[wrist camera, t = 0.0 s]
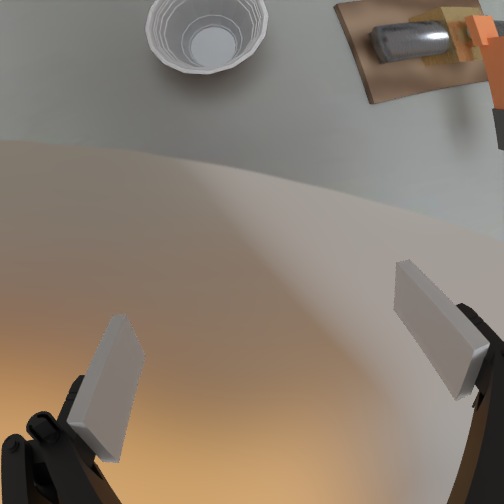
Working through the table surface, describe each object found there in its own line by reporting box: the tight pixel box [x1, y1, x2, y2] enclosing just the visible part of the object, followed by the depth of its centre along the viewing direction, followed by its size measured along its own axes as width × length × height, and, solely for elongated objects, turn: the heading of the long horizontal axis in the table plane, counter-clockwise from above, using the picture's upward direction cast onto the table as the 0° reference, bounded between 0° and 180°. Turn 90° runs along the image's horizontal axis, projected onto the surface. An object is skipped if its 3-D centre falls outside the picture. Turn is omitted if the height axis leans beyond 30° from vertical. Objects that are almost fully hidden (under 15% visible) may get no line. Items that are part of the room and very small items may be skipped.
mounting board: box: [334, 0, 489, 104], centre depth 32 cm, size 14×26×2 cm, turn 110°
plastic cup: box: [145, 0, 268, 74], centre depth 27 cm, size 11×11×12 cm
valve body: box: [368, 7, 504, 66], centre depth 28 cm, size 7×24×8 cm, turn 110°
